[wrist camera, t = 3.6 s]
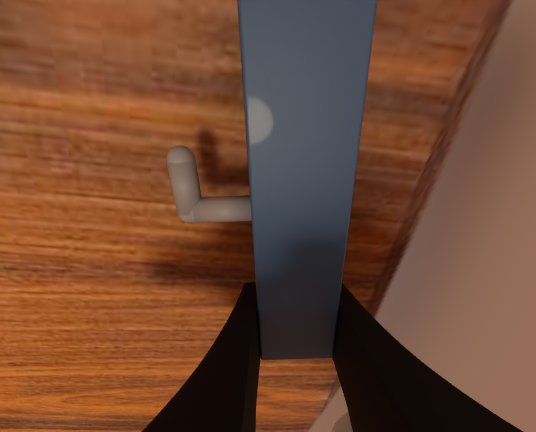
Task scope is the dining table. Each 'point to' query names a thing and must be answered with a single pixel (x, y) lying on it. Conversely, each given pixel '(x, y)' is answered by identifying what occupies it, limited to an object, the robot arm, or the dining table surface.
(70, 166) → the dining table surface
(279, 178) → the slate blue rectangular box
